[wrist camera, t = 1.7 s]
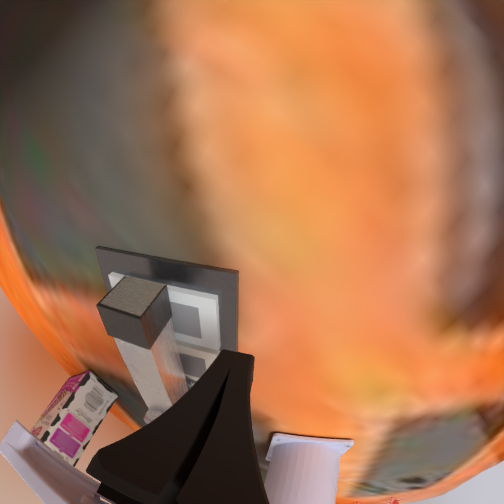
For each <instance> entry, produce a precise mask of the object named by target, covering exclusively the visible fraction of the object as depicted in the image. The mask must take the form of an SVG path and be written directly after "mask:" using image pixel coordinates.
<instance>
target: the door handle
mask: <svg viewBox="0 0 504 504" xmlns="http://www.w3.org/2000/svg"><path fill="white" fill-rule="evenodd" d="M96 306H97V309H98V311H99V314H100V316H101V319H102V321H103V324H104V326H105V329H106V331H107V333H108V335H110V336H112V337H113V338H114V340H115V342H116V345H117V347H118V349H119V351H120V354H121V356H122V358H123V360H124V362H125V364H126V367H127V369H128V371H129V373H130V375H131V377H132V379H133V381H134V383H135V385H136V386H137V388H138V390H139V392H140V394H141V396H142V398H143V399H144V401H145V403H146V405H147V407H148V408H149V409H148V411H147V413H146V415H145V417H144V421H145V422H146V423H147V424H149V423H150V422H151V421H153V420H154V419H156V418H157V417H158V416H160V415H161V414H162V413H164V412H165V411H166V410H167V409H169V408H170V407H171V406H172V405H173V404H174V403H176V402H177V401H178V400H179V399H180V398H181V397H182V396H183V395H184V394H185V393H186V392H187V391H188V390H189V389H188V386H187V382H186V378H185V375H184V371H183V367H182V363H181V359H180V355H179V350H178V346H177V342H176V337H175V333H174V328H173V323H172V319H171V317H172V311H171V305H170V300H169V294H168V289H167V285H164V284H160V283H155V282H151V281H146V280H142V279H138V278H134V277H129V276H124V277H123V278H122V279H121V280H120V281H119V282H118V283H117V284H116V285H115V286H114V287H113V288H112V289H111V290H110V291H109V292H108V293H107V294H106V295H105V296H104V298H103V299H102V300H101V301H100V302H99V303H98V304H97V305H96Z"/></svg>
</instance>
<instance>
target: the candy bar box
mask: <svg viewBox="0 0 504 504" xmlns="http://www.w3.org/2000/svg"><path fill="white" fill-rule="evenodd" d="M117 397H118V395H117V394H116V393H115V392H114V391H113V390H112V389H111V388H109V387H108V386H107V385H106V384H105V383H104V382H103V381H102V380H101V379H99V378H98V377H97V376H96V375H95V374H94V373H93V372H92V371H87V372H84V373H82V374H79V375H76V376H73V377H70V378H69V379H68V380H67V381H66V382H65V384H64V385H63V386H62V388H61V389H60V391H59V392H58V393H57V395H56V396H55V397H54V399H53V400H52V401H51V403H50V404H49V406H48V407H47V409H46V410H45V411H44V413H43V414H42V416H41V417H40V418H39V420H38V421H37V422H36V424H35V425H34V427H33V428H32V430H31V431H30V432H31V433H32V434H33V435H35V436H36V437H37V438H39V439H40V440H41V441H42V442H43V443H45V444H46V445H47V446H48V447H50V448H51V449H52V450H53V452H55V453H56V454H57V455H58V456H60V457H61V458H62V459H64V460H65V461H66V462H68V463H69V464H71V465H72V466H74V467H75V465H76V463H77V462H78V460H79V458H80V457H81V455H82V453H83V452H84V450H85V448H86V446H87V445H88V443H89V442H90V440H91V438H92V437H93V435H94V433H95V432H96V430H97V429H98V427H99V425H100V424H101V422H102V420H103V419H104V417H105V416H106V414H107V413H108V411H109V409H110V408H111V406H112V405H113V403H114V401H115V400H116V398H117Z"/></svg>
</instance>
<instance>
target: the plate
mask: <svg viewBox="0 0 504 504" xmlns="http://www.w3.org/2000/svg"><path fill="white" fill-rule="evenodd" d="M95 249H96V253H97V257H98V261H99V265H100V268H101V272H102V276H103V279H104V282H105V286H106V289H107V292H109V291H110V290H111V289H112V287H111V283H110V280H109V276H108V275H109V274H110V273H111V272H114V273H118V274H123V275H127V276H131V277H135V278H139V279H144V280H148V281H152V282H157V283H161V284H166V285H170V286H175V287H180V288H185V289H189V290H194V291H199V292H204V293H209V294H214V295H218V306H219V325H220V342H221V346H220V349H219V351H221V350H223V349H226V350H230V351H235V352H238V282H239V271H236V270H230V269H224V268H218V267H212V266H206V265H200V264H194V263H189V262H183V261H177V260H171V259H166V258H160V257H155V256H149V255H144V254H138V253H133V252H127V251H122V250H117V249H112V248H106V247H101V246H97V247H96V248H95Z"/></svg>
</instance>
